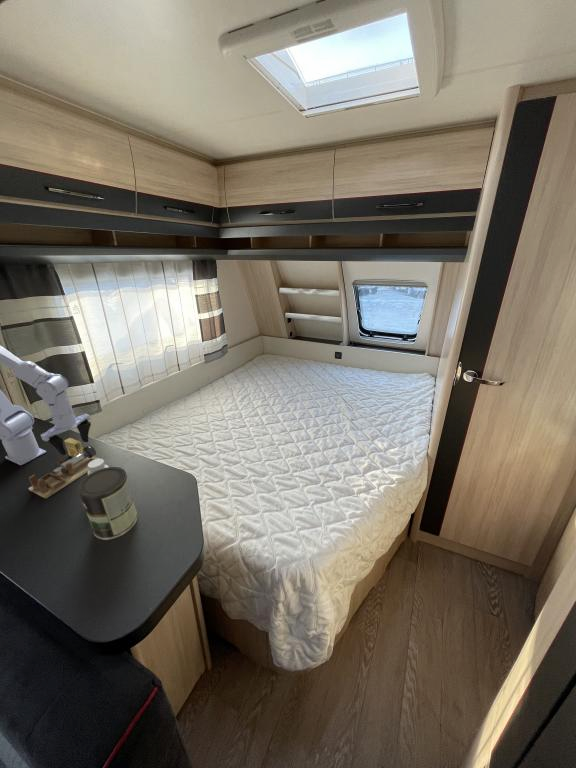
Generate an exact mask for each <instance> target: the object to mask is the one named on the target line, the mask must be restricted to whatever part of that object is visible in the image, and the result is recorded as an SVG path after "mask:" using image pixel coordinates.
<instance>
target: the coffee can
mask: <svg viewBox="0 0 576 768" xmlns="http://www.w3.org/2000/svg"><path fill="white" fill-rule="evenodd" d="M76 490H77V494H78V496H79V497H80V500H81V502H82V505H83V508H84V510H85V513H86V515H87V518H88V520H89V524H90V526H91V529H92V532H93V534H94V537H96V538H97V539H99V540H102V541H108V540H115V539H117V538H119V537H121V536H124V534H126V533H128V532H129V531H130V530H131V529H132V528H133V527H134V526H135V525H136V523H137V521H138V515H139V514H138V512H137V509H136V506H135V502H134V499H133V494H132V492H131V489H130V485H129V481H128V475H127V472H126V470H125V469H124V468H122V467H118V466H110V467H109V466H108V468H103V469H100V470H97V471H95V472H93V473H91V474H89V475H88V474H87V475H86V476H85V477H84V478H82V479H81V481H80V482H79V484H78V486H77V489H76Z"/></svg>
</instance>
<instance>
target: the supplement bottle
mask: <svg viewBox="0 0 576 768" xmlns="http://www.w3.org/2000/svg"><path fill="white" fill-rule="evenodd" d="M108 467H109V465H108V464H105V460H104V459H103V458H100V459H95V460H93V461H91V462H90V463H89V464H88V469H89V471H88V472H87V476H88V475H89V474H91V473H93V472H95V471H97V470H100V469H103V468H108Z"/></svg>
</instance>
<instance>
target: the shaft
mask: <svg viewBox="0 0 576 768" xmlns="http://www.w3.org/2000/svg"><path fill="white" fill-rule="evenodd" d="M95 449H96V448H94V447H93V446H92V445H87V446H84V447H83V452H81V453H79V454H78V455H76V456H74V457H71V458H69V459H67V460H65V461H63V462H64V463H62V464H61V466H60V467H59V466H58V467H56V468H55V469H53V470H52V473H53V474H54V473H55V474H57V473H59V472H61V471H63V470H67V468H66V466H65V465H66V464H68V463H71V465H72V466H74V465H75V464H77V463H79V462H80V461H82V460H84V459H85V458H87V457H88V458H92V457H96V455H97V452H96V450H95Z"/></svg>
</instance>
